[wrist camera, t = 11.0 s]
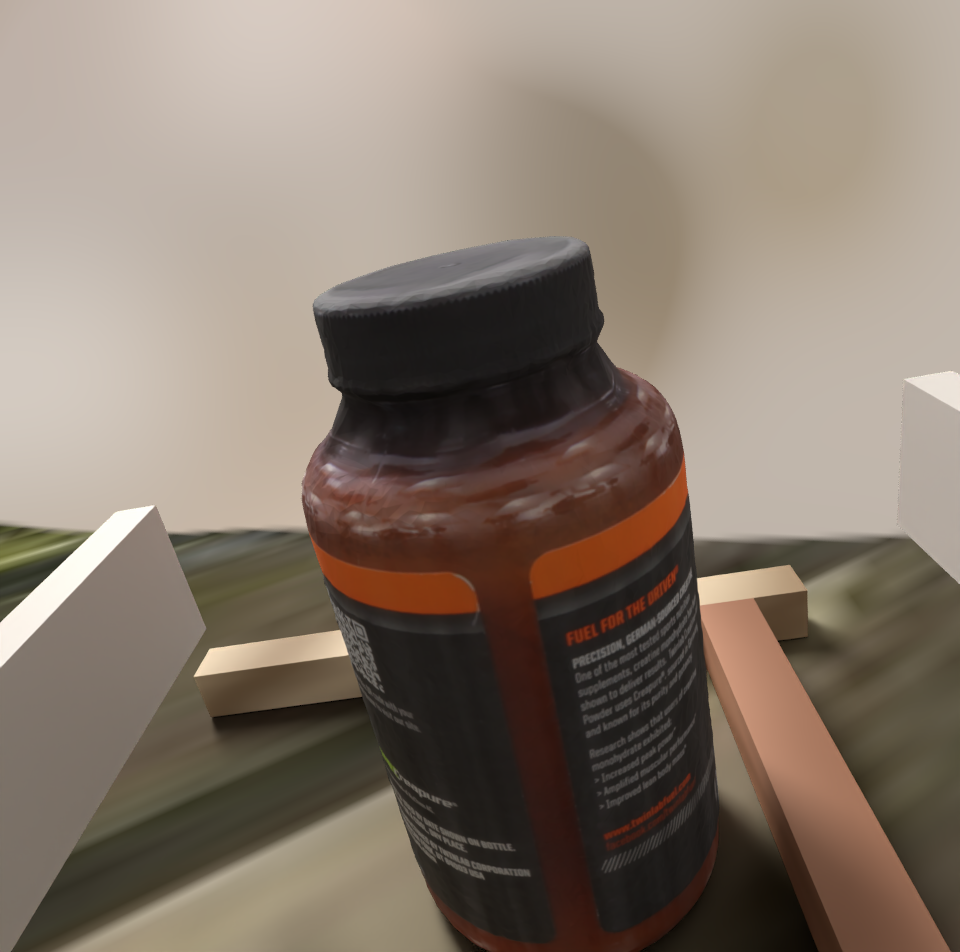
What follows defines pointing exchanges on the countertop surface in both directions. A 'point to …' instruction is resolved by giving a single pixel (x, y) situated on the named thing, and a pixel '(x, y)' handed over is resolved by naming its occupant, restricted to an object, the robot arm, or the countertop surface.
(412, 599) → the supplement bottle
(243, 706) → the guide channel
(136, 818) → the countertop surface
